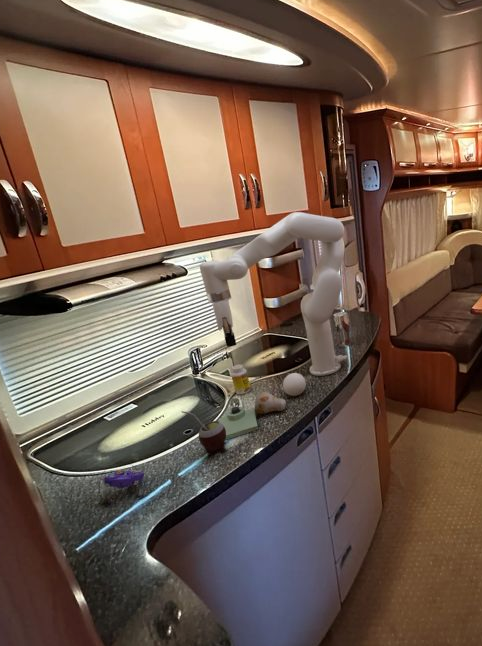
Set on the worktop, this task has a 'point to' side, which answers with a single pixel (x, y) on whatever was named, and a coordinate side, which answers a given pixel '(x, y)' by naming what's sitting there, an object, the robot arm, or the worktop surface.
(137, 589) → the worktop surface
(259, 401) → the beige lumpy tapered piece
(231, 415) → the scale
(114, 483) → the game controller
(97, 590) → the worktop surface
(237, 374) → the supplement bottle
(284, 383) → the ball
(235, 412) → the tare button
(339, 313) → the beer glass
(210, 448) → the mate gourd
